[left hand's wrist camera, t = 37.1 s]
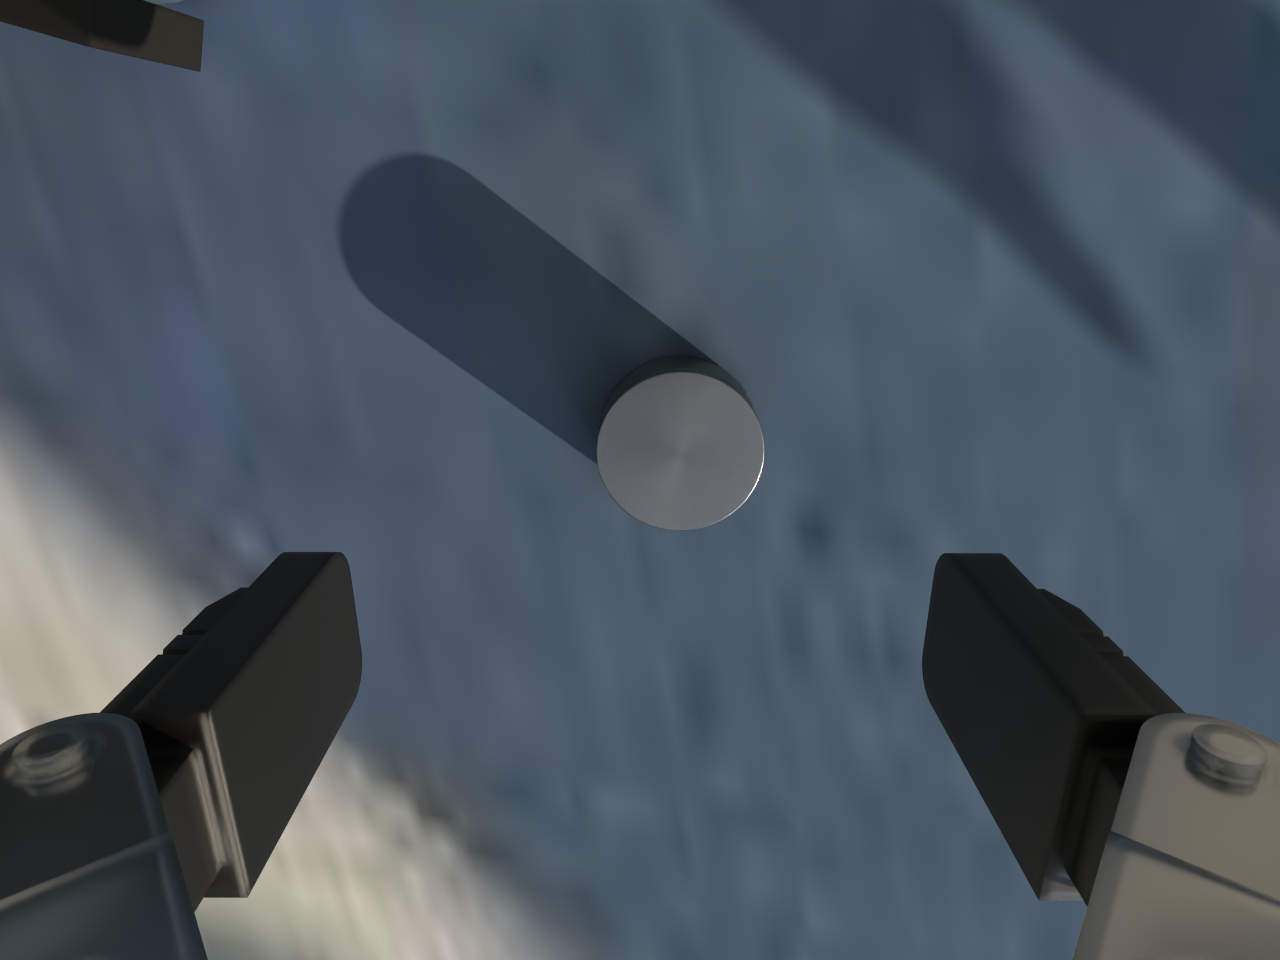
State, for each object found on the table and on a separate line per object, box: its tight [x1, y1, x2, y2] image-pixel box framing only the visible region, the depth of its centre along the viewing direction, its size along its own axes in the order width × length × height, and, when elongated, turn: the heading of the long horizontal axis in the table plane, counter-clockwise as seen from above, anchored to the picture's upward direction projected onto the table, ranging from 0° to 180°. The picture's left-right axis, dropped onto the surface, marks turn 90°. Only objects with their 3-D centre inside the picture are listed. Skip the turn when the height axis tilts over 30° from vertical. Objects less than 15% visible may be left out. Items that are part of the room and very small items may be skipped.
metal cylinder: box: [597, 356, 765, 531], centre depth 20 cm, size 4×4×2 cm
